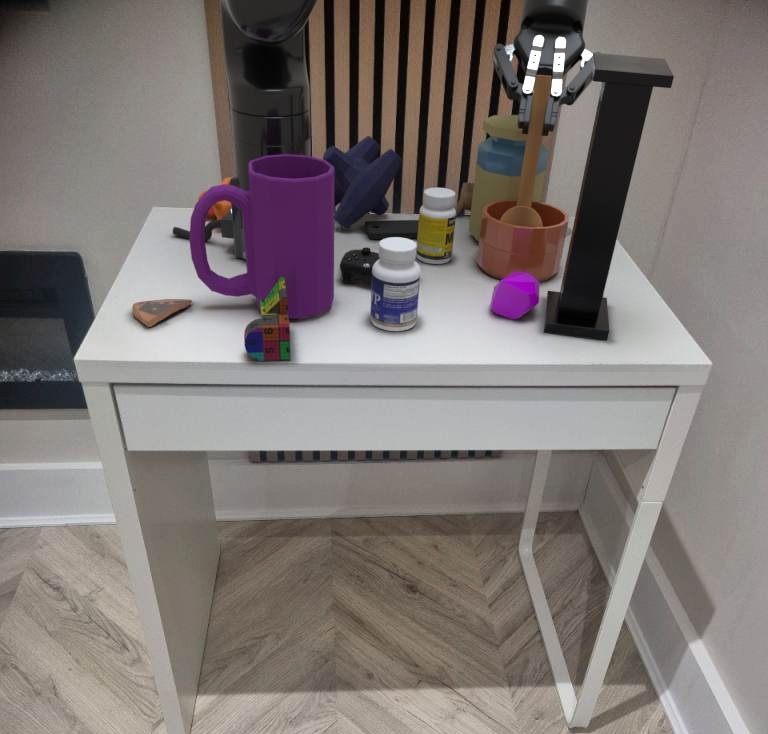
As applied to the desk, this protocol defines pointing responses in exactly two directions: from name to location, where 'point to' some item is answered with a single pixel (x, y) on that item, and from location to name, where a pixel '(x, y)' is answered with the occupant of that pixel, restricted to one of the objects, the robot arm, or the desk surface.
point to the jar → (502, 167)
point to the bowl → (521, 242)
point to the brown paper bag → (465, 198)
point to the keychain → (392, 228)
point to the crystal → (515, 295)
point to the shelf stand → (604, 192)
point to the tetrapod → (361, 180)
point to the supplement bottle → (436, 226)
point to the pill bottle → (395, 285)
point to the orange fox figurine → (220, 204)
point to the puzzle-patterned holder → (270, 328)
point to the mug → (278, 232)
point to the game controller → (358, 264)
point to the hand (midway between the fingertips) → (535, 130)
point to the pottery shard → (157, 309)
